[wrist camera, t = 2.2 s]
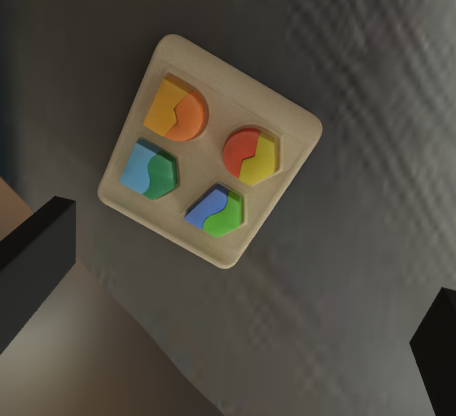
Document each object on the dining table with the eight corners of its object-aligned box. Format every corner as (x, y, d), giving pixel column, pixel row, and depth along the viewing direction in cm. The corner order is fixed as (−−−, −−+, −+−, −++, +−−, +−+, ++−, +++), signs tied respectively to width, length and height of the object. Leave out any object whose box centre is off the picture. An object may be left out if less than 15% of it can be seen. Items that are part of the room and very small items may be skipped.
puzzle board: (98, 190, 44) (83, 200, 41) (170, 28, 37) (159, 25, 34) (233, 266, 45) (229, 282, 42) (327, 122, 38) (331, 127, 35)
